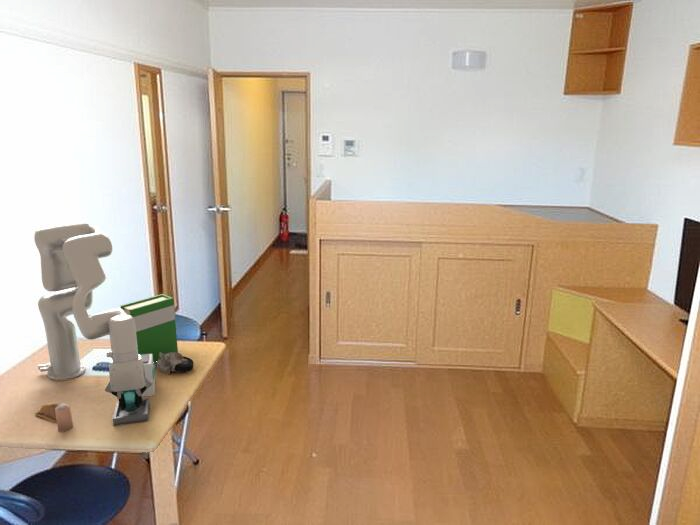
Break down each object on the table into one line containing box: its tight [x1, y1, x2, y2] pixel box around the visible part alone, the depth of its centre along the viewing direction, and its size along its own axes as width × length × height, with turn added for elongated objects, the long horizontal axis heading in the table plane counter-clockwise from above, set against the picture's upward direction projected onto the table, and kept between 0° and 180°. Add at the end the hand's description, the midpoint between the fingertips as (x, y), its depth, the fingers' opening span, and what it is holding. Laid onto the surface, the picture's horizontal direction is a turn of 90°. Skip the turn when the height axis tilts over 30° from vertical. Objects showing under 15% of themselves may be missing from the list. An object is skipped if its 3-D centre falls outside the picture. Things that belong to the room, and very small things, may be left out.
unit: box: [122, 354, 156, 398], centre depth 181 cm, size 11×8×13 cm
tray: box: [112, 397, 151, 427], centre depth 168 cm, size 10×10×2 cm
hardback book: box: [119, 293, 179, 363], centre depth 204 cm, size 18×7×24 cm, turn 140°
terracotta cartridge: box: [55, 403, 74, 432], centre depth 160 cm, size 4×4×8 cm
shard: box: [34, 402, 62, 424], centre depth 167 cm, size 11×8×2 cm
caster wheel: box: [156, 351, 195, 376], centre depth 198 cm, size 7×11×10 cm
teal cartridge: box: [123, 390, 138, 412], centre depth 167 cm, size 4×4×8 cm
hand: (131, 406), depth 168 cm, fingers closed on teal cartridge, 4 cm apart
